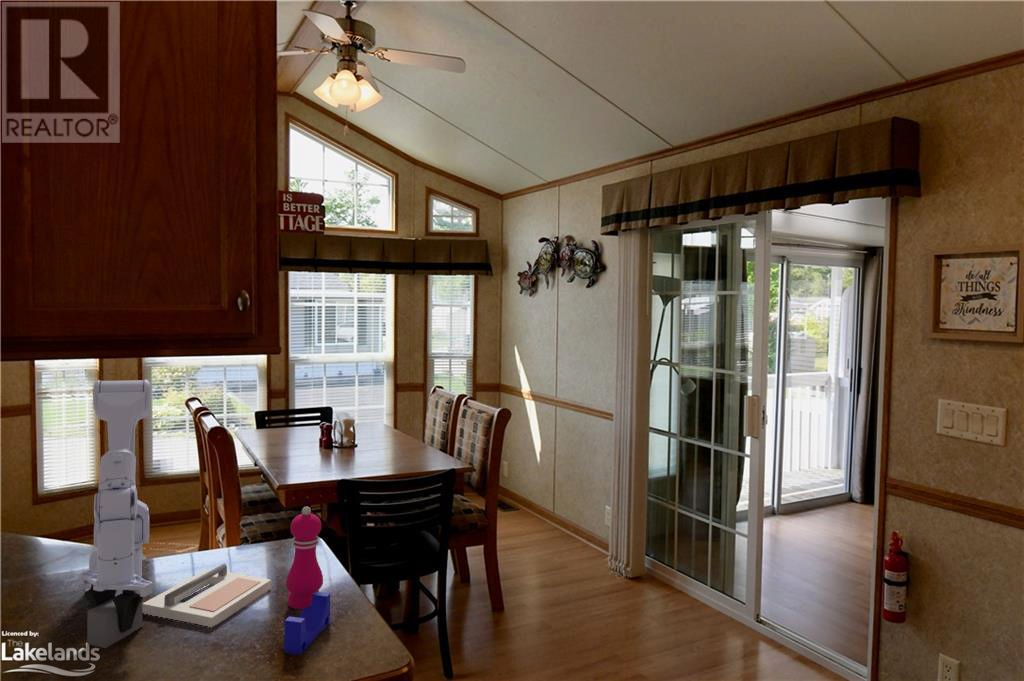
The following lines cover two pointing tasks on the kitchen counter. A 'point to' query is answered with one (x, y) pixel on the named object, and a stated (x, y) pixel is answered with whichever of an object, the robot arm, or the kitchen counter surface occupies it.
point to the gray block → (108, 624)
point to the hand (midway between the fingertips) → (115, 627)
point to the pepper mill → (304, 560)
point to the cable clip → (307, 624)
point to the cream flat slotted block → (208, 597)
